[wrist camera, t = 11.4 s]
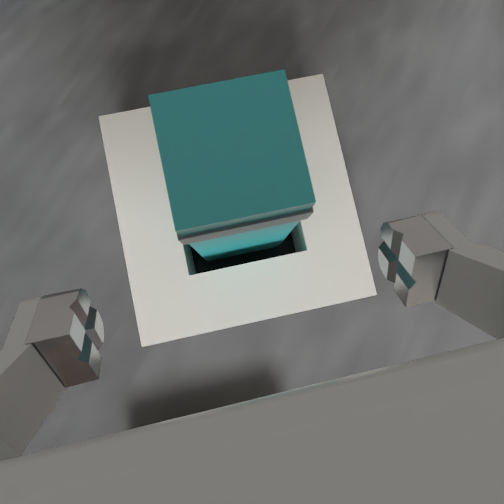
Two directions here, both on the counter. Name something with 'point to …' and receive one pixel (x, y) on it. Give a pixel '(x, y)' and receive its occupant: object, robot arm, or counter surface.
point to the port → (245, 275)
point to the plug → (233, 163)
